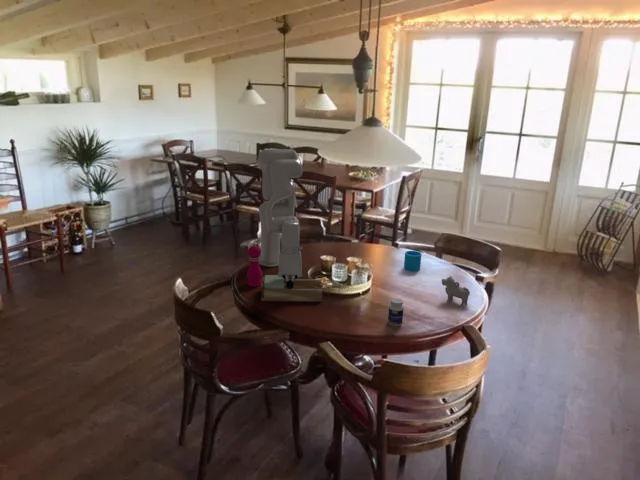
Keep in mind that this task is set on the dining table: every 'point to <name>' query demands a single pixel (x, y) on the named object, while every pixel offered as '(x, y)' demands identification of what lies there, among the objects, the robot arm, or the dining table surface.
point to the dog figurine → (455, 290)
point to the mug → (412, 261)
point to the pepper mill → (254, 266)
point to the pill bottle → (395, 312)
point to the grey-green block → (273, 282)
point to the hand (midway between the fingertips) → (289, 288)
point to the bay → (294, 291)
